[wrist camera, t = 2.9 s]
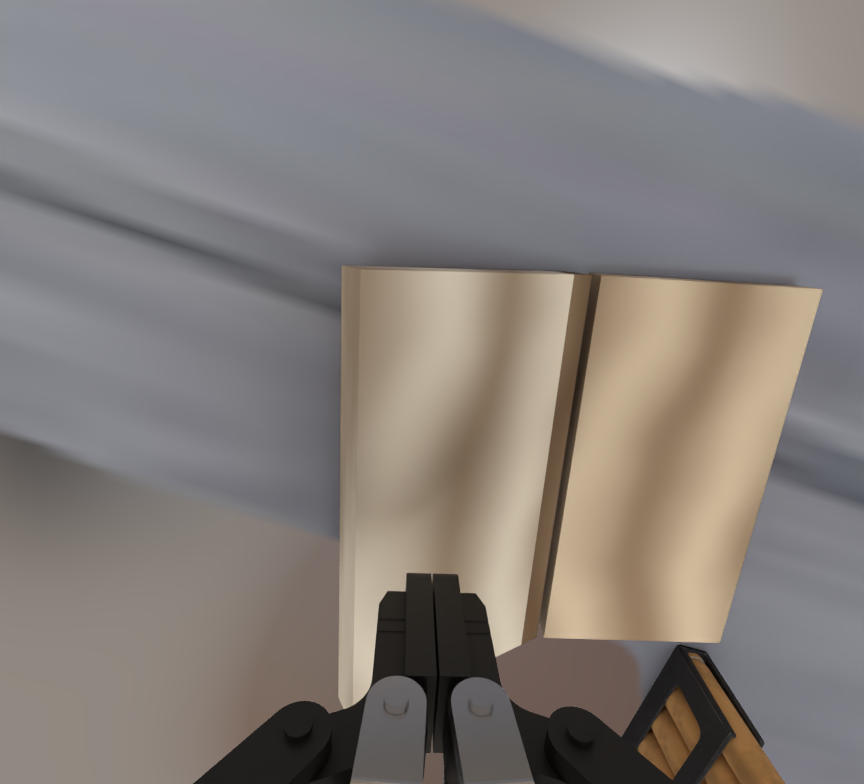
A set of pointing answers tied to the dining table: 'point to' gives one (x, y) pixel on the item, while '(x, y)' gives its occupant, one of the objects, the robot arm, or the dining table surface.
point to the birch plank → (451, 440)
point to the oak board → (669, 453)
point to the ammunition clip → (698, 727)
